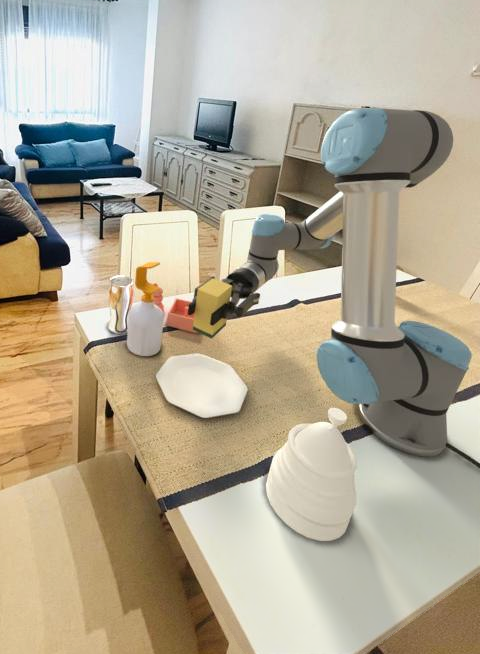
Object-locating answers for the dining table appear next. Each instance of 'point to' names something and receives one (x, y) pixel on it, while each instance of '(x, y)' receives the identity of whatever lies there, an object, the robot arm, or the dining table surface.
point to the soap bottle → (145, 317)
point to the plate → (201, 385)
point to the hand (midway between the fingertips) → (200, 314)
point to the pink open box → (176, 312)
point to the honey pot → (314, 479)
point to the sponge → (210, 306)
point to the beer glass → (120, 303)
